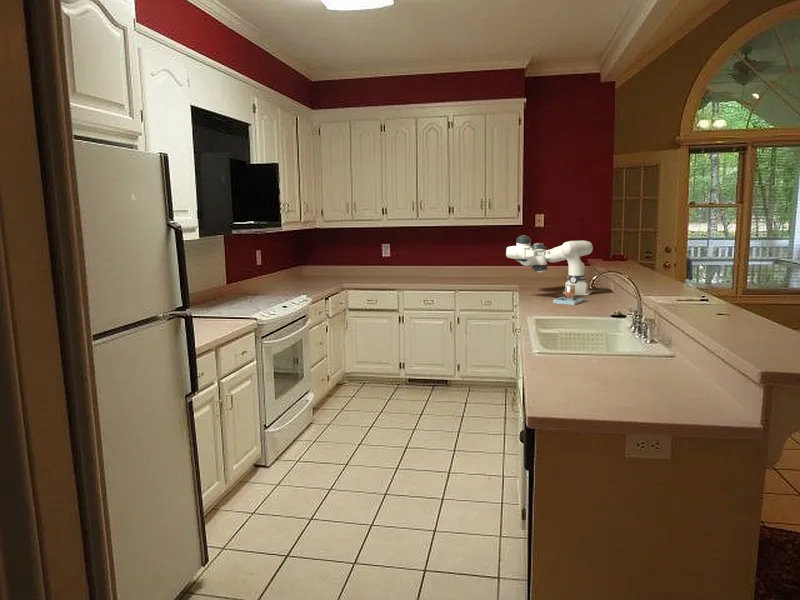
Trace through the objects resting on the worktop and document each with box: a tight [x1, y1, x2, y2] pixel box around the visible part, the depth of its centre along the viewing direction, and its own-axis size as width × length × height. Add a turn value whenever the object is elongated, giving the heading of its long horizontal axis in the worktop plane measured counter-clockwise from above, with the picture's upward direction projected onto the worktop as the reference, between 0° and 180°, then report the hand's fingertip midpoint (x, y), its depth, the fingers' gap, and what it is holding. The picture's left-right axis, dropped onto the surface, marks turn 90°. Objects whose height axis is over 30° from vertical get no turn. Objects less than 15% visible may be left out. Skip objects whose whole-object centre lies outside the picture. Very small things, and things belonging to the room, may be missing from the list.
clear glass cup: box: [564, 285, 576, 301], centre depth 377 cm, size 6×6×11 cm
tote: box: [552, 296, 584, 306], centre depth 375 cm, size 16×14×3 cm
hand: (547, 253), depth 385 cm, fingers open, 8 cm apart
